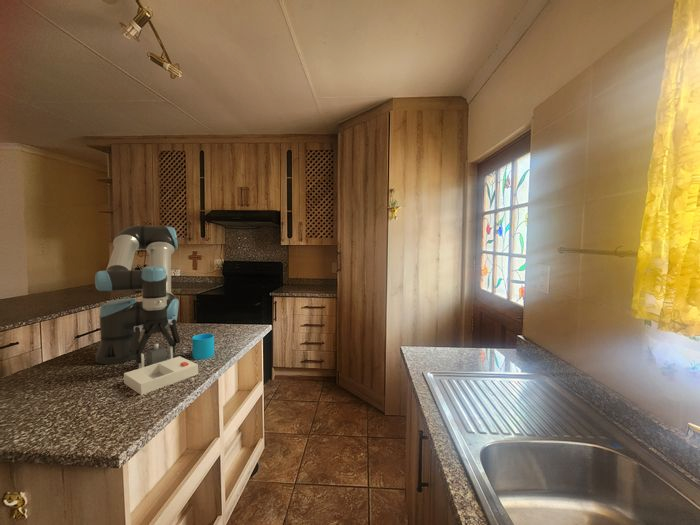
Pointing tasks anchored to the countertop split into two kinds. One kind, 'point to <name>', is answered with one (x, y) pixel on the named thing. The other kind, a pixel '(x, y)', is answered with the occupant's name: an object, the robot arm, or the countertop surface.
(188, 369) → the socket plate
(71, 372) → the countertop surface
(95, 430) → the countertop surface
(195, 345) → the mug
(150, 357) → the plug
